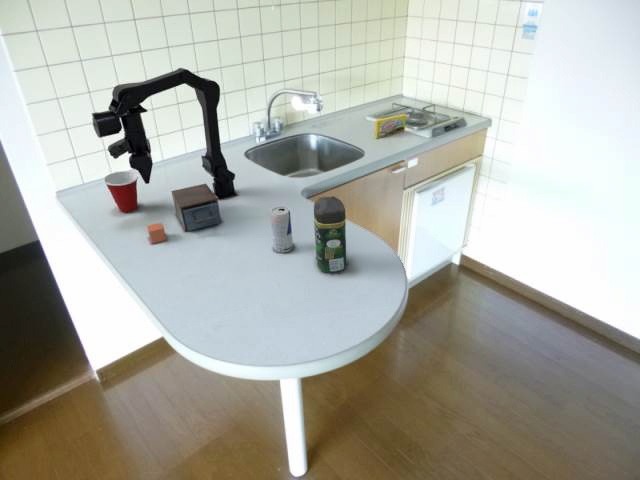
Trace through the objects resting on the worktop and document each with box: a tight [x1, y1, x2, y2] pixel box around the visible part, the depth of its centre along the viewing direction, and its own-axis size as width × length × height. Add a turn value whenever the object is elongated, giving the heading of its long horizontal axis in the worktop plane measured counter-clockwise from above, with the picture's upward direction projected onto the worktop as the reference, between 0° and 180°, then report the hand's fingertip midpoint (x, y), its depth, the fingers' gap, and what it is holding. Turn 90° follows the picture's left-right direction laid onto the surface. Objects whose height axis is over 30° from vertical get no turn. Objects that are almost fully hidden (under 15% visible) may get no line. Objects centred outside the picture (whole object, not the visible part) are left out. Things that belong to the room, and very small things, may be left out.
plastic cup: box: [102, 170, 139, 214], centre depth 156 cm, size 11×11×12 cm
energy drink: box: [270, 206, 294, 253], centre depth 130 cm, size 5×5×12 cm
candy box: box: [373, 113, 407, 140], centre depth 211 cm, size 16×2×8 cm, turn 120°
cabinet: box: [170, 183, 222, 232], centre depth 149 cm, size 13×11×8 cm
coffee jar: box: [313, 196, 347, 274], centre depth 121 cm, size 10×8×19 cm
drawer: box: [183, 202, 221, 232], centre depth 145 cm, size 17×10×7 cm, turn 27°
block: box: [146, 222, 167, 245], centre depth 139 cm, size 4×4×4 cm
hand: (146, 178), depth 146 cm, fingers open, 9 cm apart
